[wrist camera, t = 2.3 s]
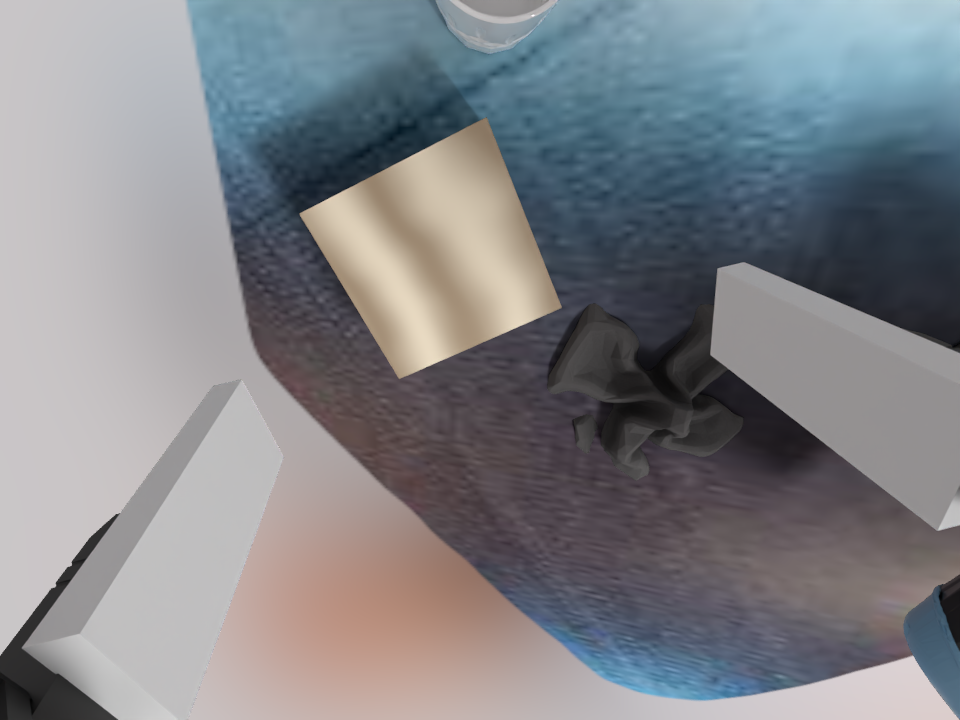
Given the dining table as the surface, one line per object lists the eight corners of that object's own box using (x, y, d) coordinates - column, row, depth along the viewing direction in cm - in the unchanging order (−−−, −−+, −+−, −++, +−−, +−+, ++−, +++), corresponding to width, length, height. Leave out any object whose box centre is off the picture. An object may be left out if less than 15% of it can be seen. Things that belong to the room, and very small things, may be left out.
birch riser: (482, 123, 31) (486, 117, 26) (548, 288, 36) (561, 307, 31) (321, 205, 33) (299, 213, 28) (406, 352, 38) (399, 378, 33)
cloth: (530, 313, 37) (542, 340, 32) (751, 266, 37) (804, 285, 31) (564, 511, 46) (578, 559, 41) (742, 477, 46) (781, 521, 40)
